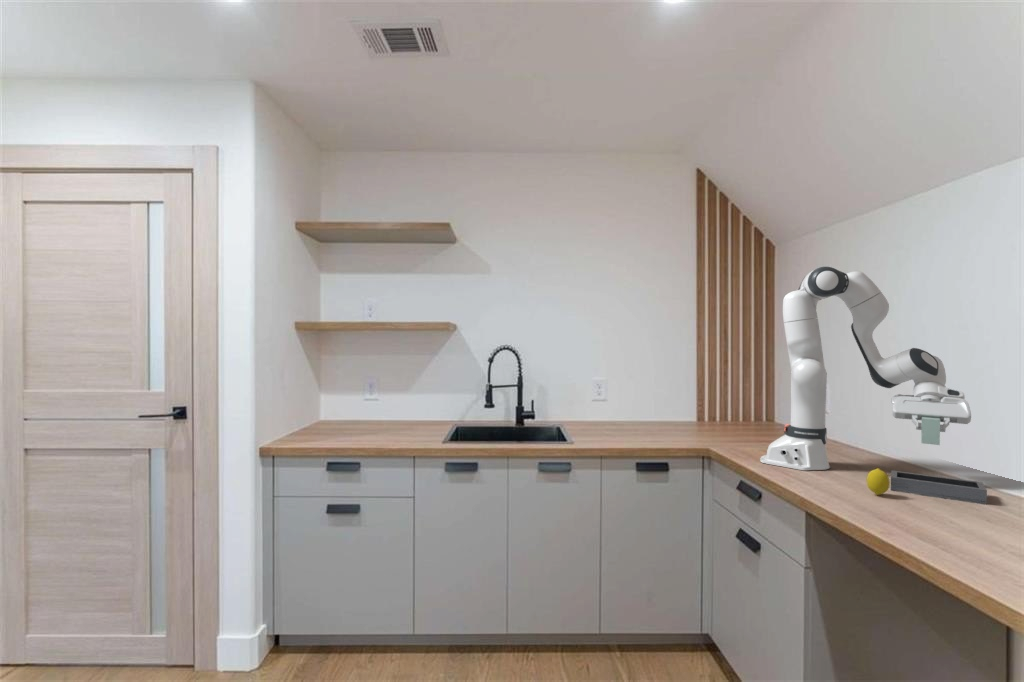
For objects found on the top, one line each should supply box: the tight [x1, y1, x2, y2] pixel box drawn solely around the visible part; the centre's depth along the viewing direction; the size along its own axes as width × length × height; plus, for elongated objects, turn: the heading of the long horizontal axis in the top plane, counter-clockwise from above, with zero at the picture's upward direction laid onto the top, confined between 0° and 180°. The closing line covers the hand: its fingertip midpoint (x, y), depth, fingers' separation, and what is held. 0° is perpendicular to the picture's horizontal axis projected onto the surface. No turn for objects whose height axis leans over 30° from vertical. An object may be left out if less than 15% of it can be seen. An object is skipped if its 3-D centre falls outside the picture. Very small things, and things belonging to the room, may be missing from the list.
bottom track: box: [890, 470, 988, 505], centre depth 160 cm, size 22×10×4 cm, turn 54°
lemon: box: [866, 467, 890, 496], centre depth 157 cm, size 6×6×8 cm
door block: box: [920, 417, 941, 446], centre depth 171 cm, size 4×4×8 cm
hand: (930, 429), depth 170 cm, fingers closed on door block, 4 cm apart
